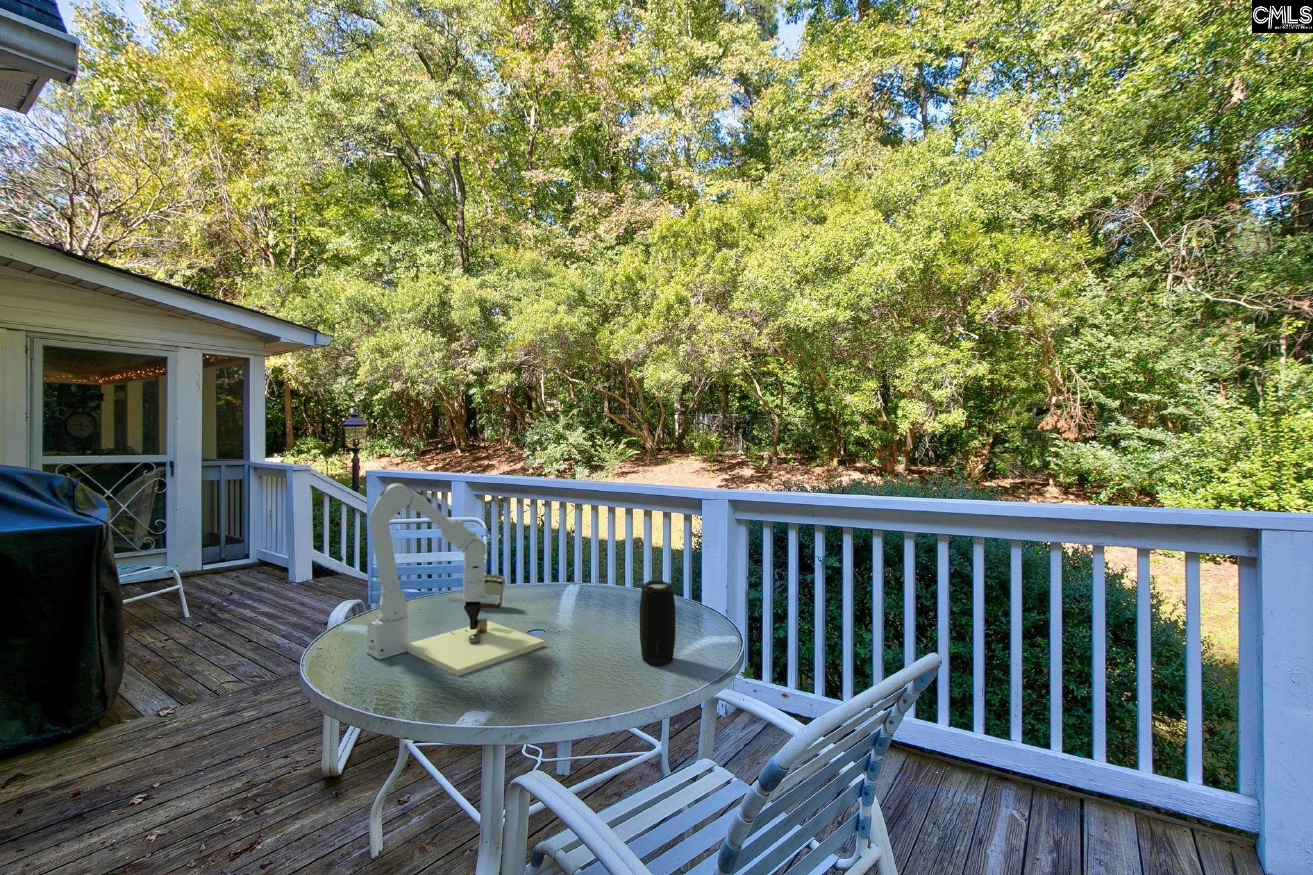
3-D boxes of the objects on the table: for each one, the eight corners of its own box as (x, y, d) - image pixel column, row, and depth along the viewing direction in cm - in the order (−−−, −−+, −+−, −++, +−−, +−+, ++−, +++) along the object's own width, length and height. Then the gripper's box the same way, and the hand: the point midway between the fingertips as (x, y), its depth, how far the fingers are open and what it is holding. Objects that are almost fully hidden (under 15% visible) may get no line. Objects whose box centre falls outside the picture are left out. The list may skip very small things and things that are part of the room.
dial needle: (479, 643, 157) (479, 631, 157) (467, 643, 157) (467, 631, 157) (489, 627, 170) (489, 616, 170) (478, 628, 170) (478, 616, 170)
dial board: (457, 676, 140) (457, 669, 140) (404, 650, 157) (404, 644, 157) (544, 646, 160) (544, 640, 160) (488, 625, 177) (488, 620, 177)
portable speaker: (647, 652, 156) (647, 577, 156) (680, 657, 152) (681, 581, 152) (633, 663, 148) (633, 585, 148) (668, 669, 144) (668, 589, 144)
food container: (511, 604, 200) (511, 574, 200) (504, 609, 194) (504, 579, 194) (475, 603, 201) (475, 573, 201) (468, 608, 195) (468, 578, 195)
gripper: (504, 577, 170) (504, 624, 170) (455, 576, 171) (455, 623, 171) (495, 583, 163) (495, 632, 163) (444, 582, 164) (444, 631, 164)
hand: (474, 628), depth 167 cm, fingers closed, pressing on dial needle
